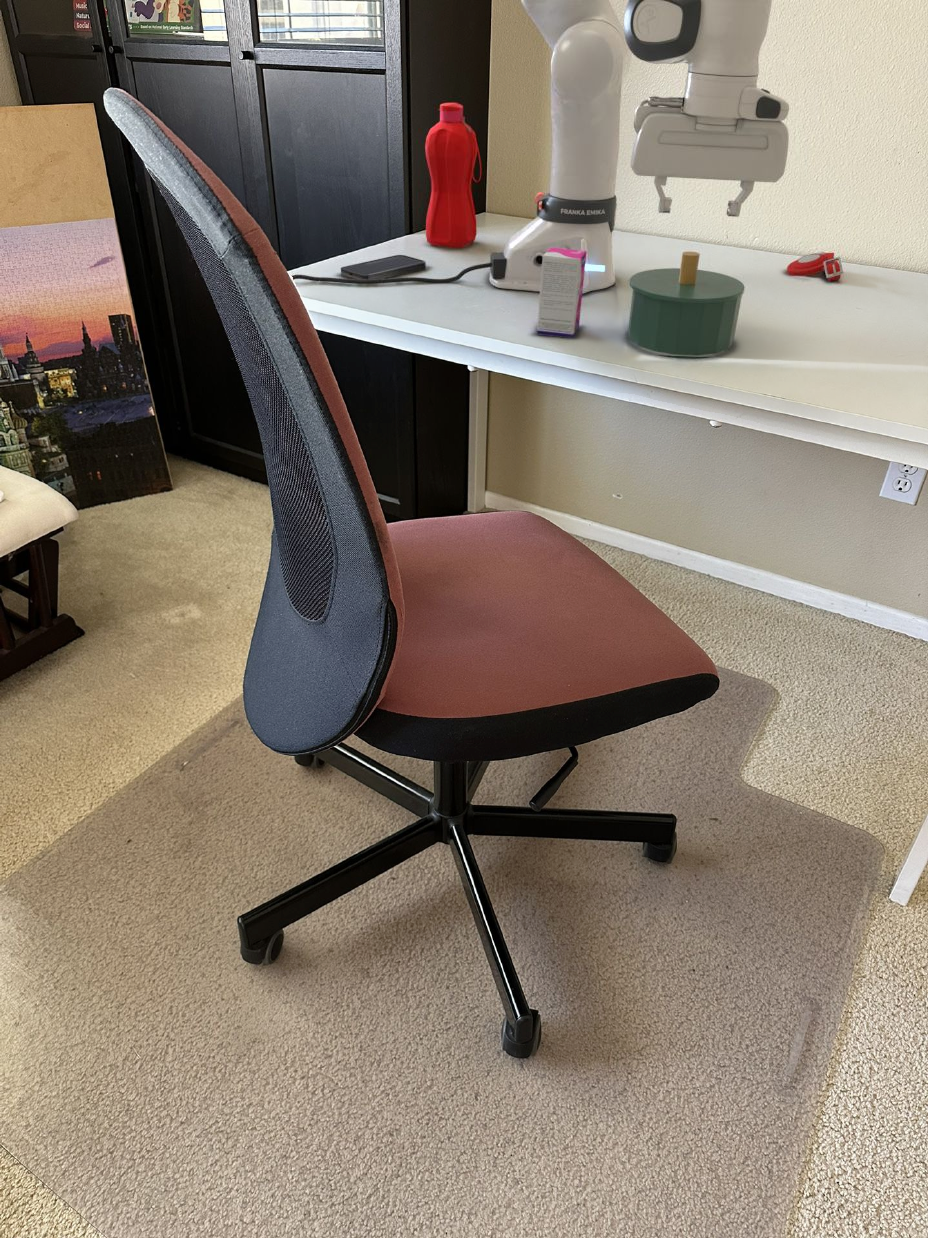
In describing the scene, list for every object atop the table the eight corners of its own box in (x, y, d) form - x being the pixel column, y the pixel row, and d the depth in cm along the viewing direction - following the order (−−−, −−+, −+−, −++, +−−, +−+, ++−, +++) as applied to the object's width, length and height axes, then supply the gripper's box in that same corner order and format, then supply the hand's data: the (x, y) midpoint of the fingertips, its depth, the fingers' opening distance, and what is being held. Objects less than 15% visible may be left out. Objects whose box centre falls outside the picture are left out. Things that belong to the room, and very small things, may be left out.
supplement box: (574, 338, 135) (580, 258, 128) (535, 334, 136) (540, 255, 130) (580, 326, 140) (587, 249, 133) (543, 323, 141) (547, 246, 134)
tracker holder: (775, 267, 166) (805, 245, 170) (778, 290, 168) (808, 268, 172) (837, 264, 157) (867, 241, 161) (839, 289, 159) (869, 266, 163)
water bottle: (469, 251, 178) (471, 107, 164) (420, 245, 182) (418, 103, 167) (488, 242, 185) (492, 102, 170) (441, 236, 189) (440, 99, 174)
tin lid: (632, 305, 124) (636, 265, 121) (626, 274, 137) (630, 238, 134) (751, 309, 123) (759, 270, 120) (734, 278, 136) (740, 241, 133)
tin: (631, 356, 129) (638, 299, 124) (625, 324, 141) (630, 271, 136) (739, 360, 128) (750, 303, 123) (723, 327, 140) (732, 274, 135)
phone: (428, 261, 167) (365, 275, 158) (428, 267, 167) (365, 282, 159) (400, 253, 171) (337, 267, 162) (400, 260, 172) (338, 273, 163)
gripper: (639, 97, 114) (624, 214, 122) (802, 105, 113) (776, 222, 121) (635, 92, 119) (621, 205, 127) (791, 100, 119) (766, 212, 127)
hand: (698, 213), depth 124 cm, fingers open, 8 cm apart
